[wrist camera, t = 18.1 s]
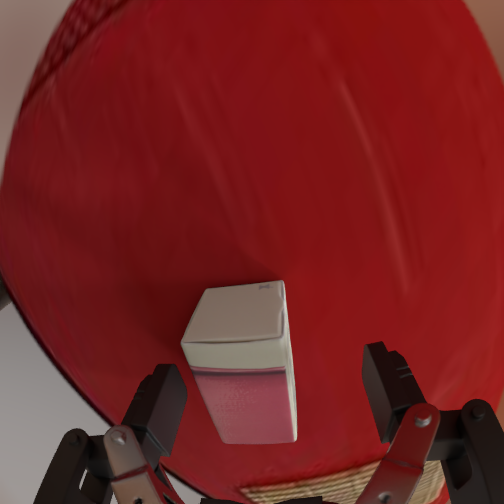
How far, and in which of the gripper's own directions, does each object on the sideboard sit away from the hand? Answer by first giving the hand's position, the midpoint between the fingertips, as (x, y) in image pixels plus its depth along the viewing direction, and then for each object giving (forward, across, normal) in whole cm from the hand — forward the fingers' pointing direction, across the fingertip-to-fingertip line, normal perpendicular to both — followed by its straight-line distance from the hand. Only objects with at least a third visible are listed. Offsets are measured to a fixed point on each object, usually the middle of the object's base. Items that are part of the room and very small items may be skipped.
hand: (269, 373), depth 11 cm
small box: (+2, +1, +6) cm, 7 cm away
